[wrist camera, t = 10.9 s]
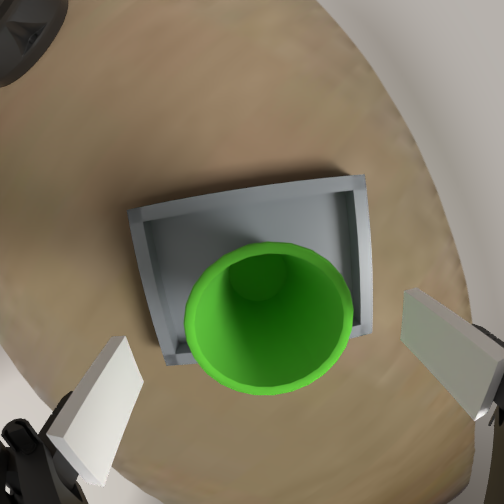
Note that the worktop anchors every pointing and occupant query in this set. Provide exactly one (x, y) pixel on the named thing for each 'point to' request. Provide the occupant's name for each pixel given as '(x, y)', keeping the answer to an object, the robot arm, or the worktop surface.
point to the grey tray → (246, 232)
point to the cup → (268, 318)
